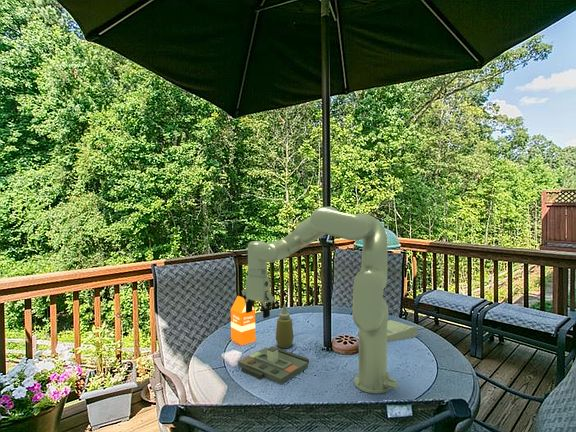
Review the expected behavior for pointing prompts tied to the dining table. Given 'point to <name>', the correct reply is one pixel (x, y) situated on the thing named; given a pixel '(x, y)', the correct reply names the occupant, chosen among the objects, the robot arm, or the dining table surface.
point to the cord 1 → (252, 372)
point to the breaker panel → (274, 366)
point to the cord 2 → (293, 355)
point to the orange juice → (242, 322)
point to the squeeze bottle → (284, 329)
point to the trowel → (400, 331)
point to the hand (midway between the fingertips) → (257, 314)
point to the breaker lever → (272, 354)
